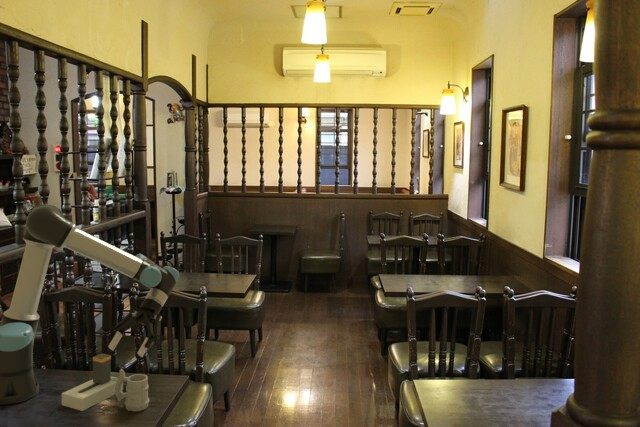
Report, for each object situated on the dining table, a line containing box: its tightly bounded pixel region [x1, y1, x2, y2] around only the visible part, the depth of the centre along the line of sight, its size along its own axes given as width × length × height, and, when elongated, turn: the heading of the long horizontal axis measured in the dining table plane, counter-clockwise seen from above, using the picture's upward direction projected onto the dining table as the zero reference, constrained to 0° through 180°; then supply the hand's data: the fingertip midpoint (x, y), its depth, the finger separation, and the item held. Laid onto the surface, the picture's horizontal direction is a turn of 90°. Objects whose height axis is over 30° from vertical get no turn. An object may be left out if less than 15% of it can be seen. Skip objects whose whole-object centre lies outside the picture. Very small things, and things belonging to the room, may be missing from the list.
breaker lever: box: [92, 352, 112, 384], centre depth 180 cm, size 4×4×9 cm
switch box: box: [61, 375, 124, 412], centre depth 177 cm, size 9×18×4 cm, turn 158°
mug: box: [114, 368, 150, 412], centre depth 172 cm, size 8×12×12 cm, turn 78°
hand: (124, 352), depth 190 cm, fingers open, 13 cm apart
